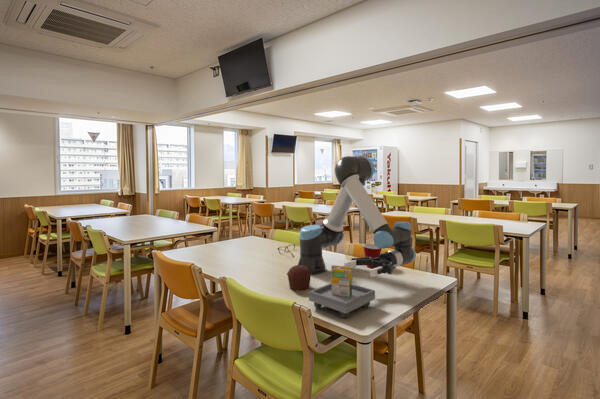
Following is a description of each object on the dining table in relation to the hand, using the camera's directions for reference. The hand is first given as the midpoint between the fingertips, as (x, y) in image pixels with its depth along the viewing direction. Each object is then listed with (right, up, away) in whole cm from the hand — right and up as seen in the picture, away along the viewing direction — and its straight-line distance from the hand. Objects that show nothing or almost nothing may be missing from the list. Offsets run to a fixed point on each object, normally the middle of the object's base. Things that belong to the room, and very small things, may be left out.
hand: (357, 269), depth 137 cm
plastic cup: (+16, -9, +49) cm, 52 cm away
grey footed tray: (-7, -14, -5) cm, 16 cm away
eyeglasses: (-27, -7, +84) cm, 88 cm away
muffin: (-23, -12, +19) cm, 32 cm away
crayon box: (-7, -9, -5) cm, 12 cm away
